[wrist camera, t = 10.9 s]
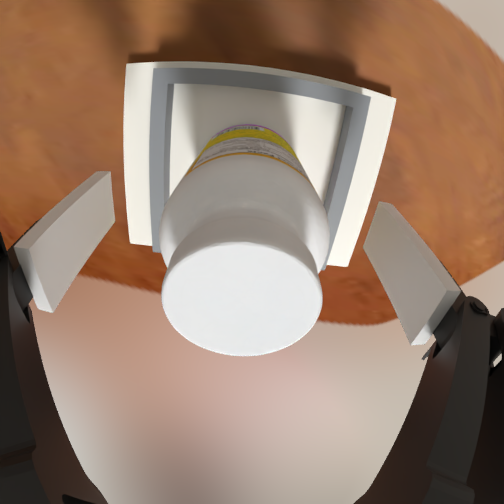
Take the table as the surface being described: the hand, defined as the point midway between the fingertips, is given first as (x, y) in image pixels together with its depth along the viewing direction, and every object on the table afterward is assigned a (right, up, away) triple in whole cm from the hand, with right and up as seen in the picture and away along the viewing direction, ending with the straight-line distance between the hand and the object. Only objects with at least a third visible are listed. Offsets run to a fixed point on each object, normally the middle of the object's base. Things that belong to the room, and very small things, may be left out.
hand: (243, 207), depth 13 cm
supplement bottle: (0, +4, +6) cm, 7 cm away
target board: (0, +4, +6) cm, 7 cm away
